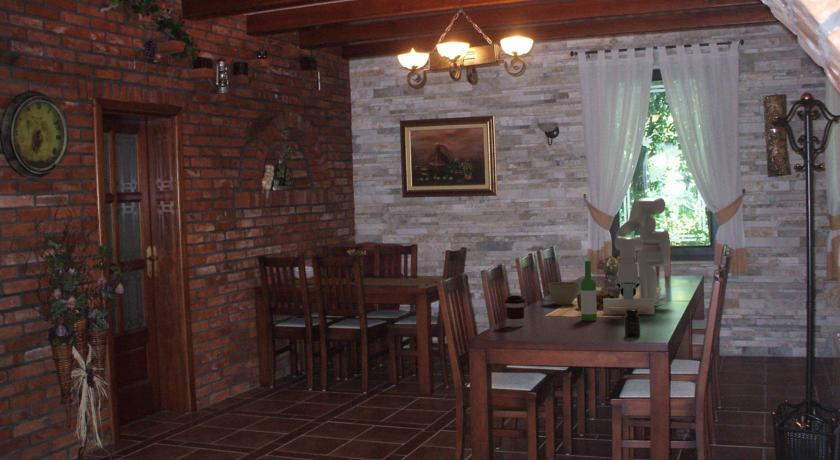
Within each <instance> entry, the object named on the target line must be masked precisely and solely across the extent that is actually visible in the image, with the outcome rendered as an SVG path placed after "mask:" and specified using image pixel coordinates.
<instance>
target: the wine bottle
mask: <svg viewBox="0 0 840 460" xmlns="http://www.w3.org/2000/svg"><path fill="white" fill-rule="evenodd" d="M591 263H592V262H591V260H585V261H584V277H583V279H581V281H580V293H581V309H580V313H581V314H580V317H581V320H582V321H583V322H594V321H595V322H596V321H597V319H598V313H597V311H598V310H597V303H596V291H597V282H596V281H595V278H593V277H592V267H591V266H592V264H591Z"/></svg>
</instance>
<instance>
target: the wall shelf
mask: <svg viewBox="0 0 840 460" xmlns="http://www.w3.org/2000/svg"><path fill="white" fill-rule="evenodd" d="M627 309H637V312H638V314H637V315H656V314H655V313H656V311H655V306H654V299H640V298H633V299H623V298H614V299H603V309H602V310H603V315H627V314H626V310H627Z"/></svg>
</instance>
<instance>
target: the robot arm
mask: <svg viewBox="0 0 840 460" xmlns="http://www.w3.org/2000/svg"><path fill="white" fill-rule="evenodd" d="M665 210H666V201H665V200H664V198H662V197H642V198H640V197H639V198H636V199H634V200H633V203H632V205H631V208H630V213H629V217H628V220H627V221H626V222H625V223H623V224H622V225H621V226H620V227H619V228H618V230H617V232H616V235H615V239H614V247H615V249H616V250H618V251H619V259H620V260H619V263H618V268H617V277H616V278H615V279H614V280H613V284H615V285H616V286H617V287H619V289H620V295H621V296H622V297H623V284H624V283H633V297H635V295H637V288H638V287H639V288H638V290H639V299H654V307H658V306H661V302H665V301H666V298H665V297H660V296H658V282H657V280H658V279H657V277H658V276H657V275H658V274H657V271H656V270H655V269H654V267H666V266H669V263H670V255H671V254H670V250H671V249H670V247H671V246H670V243H671V242H670V233H669V232H668V230H666V229H660V228H659V229H657V228H656V223H657V222H656V219H655V218H654V216H655V215H660V214H663V213H664V212H665ZM638 230H639V236H637V235H636V236H635V235H633V236H629V235H628V234H630V233H633V232H635V231H638ZM626 235H627V236H626ZM643 246H644V247H660V248H643ZM636 251H637V254H636Z"/></svg>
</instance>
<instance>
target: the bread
mask: <svg viewBox="0 0 840 460" xmlns="http://www.w3.org/2000/svg"><path fill="white" fill-rule="evenodd" d="M576 298H577V299H576V303H577V308H578V309H579V310H581V292H578V293H577V296H576ZM615 298H616V297H615V294H613V292H612V291H611V290H610V289H600V290H596V303H597V309H598V310H603V299H615Z"/></svg>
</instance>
